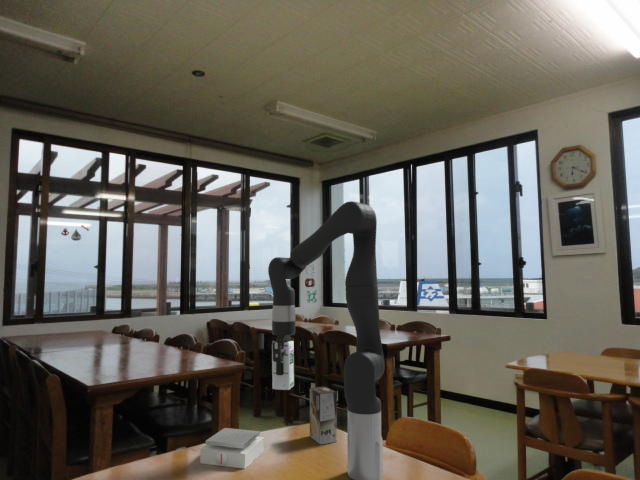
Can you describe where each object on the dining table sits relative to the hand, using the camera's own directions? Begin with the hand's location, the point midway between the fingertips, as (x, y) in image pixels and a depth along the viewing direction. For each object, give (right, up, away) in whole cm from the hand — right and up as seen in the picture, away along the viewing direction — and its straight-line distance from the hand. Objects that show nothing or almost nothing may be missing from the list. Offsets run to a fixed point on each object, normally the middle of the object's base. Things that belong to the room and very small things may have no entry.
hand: (283, 372), depth 143 cm
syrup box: (0, -5, 0) cm, 5 cm away
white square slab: (-14, -23, -9) cm, 28 cm away
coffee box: (+13, -24, +7) cm, 28 cm away
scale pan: (-14, -18, -8) cm, 24 cm away
